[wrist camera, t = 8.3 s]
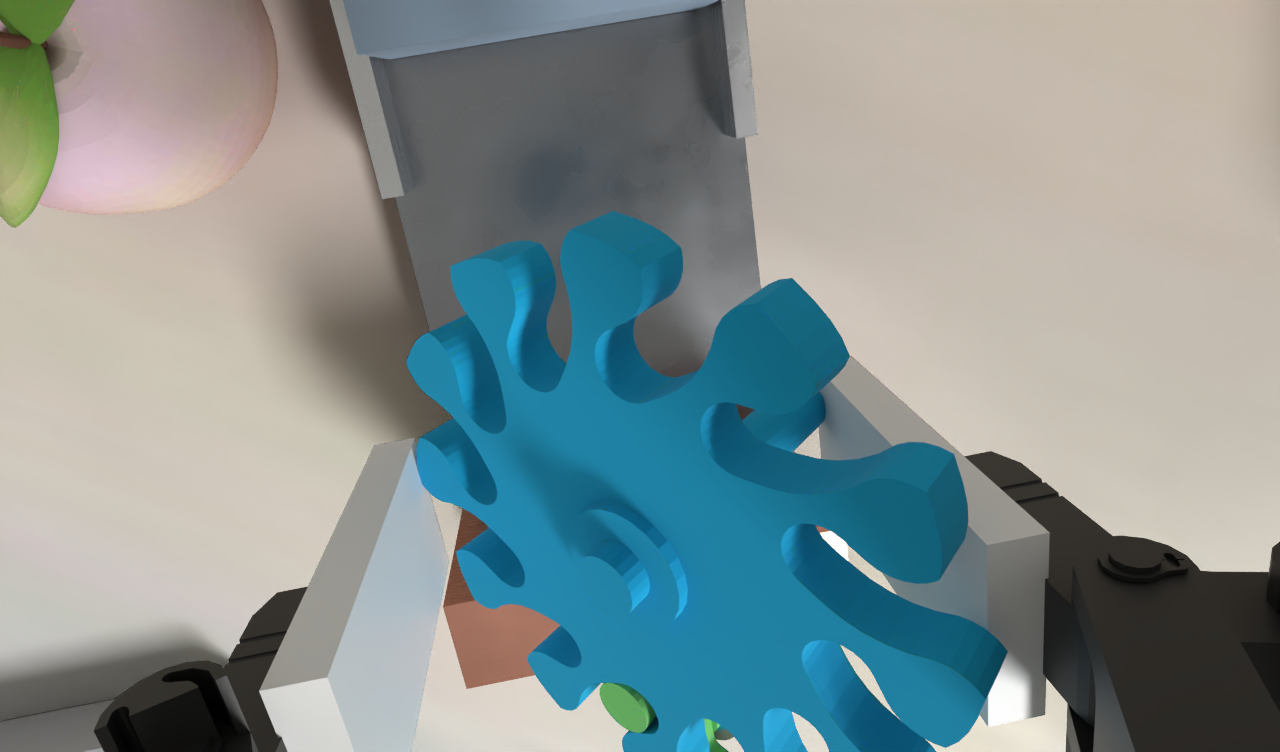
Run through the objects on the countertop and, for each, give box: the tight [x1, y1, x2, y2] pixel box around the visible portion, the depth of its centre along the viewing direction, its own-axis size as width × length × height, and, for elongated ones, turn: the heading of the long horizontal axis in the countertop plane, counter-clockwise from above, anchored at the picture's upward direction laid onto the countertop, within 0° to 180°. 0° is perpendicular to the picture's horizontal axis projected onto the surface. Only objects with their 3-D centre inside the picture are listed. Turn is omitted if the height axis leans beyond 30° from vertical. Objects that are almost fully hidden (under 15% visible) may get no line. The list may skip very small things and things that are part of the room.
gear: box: [406, 211, 1008, 752], centre depth 14 cm, size 11×6×10 cm
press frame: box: [329, 0, 848, 689], centre depth 26 cm, size 12×24×10 cm, turn 9°
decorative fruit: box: [0, 0, 278, 228], centre depth 22 cm, size 9×8×10 cm
